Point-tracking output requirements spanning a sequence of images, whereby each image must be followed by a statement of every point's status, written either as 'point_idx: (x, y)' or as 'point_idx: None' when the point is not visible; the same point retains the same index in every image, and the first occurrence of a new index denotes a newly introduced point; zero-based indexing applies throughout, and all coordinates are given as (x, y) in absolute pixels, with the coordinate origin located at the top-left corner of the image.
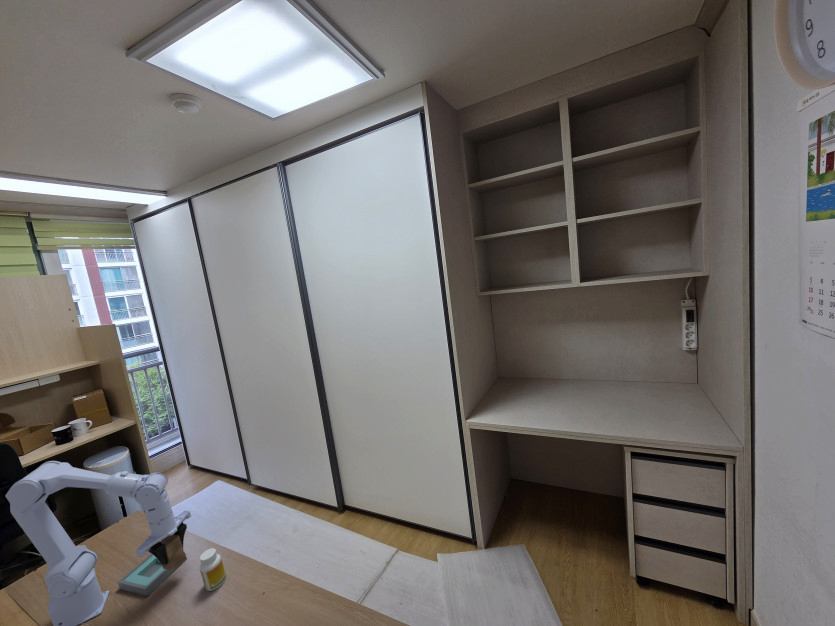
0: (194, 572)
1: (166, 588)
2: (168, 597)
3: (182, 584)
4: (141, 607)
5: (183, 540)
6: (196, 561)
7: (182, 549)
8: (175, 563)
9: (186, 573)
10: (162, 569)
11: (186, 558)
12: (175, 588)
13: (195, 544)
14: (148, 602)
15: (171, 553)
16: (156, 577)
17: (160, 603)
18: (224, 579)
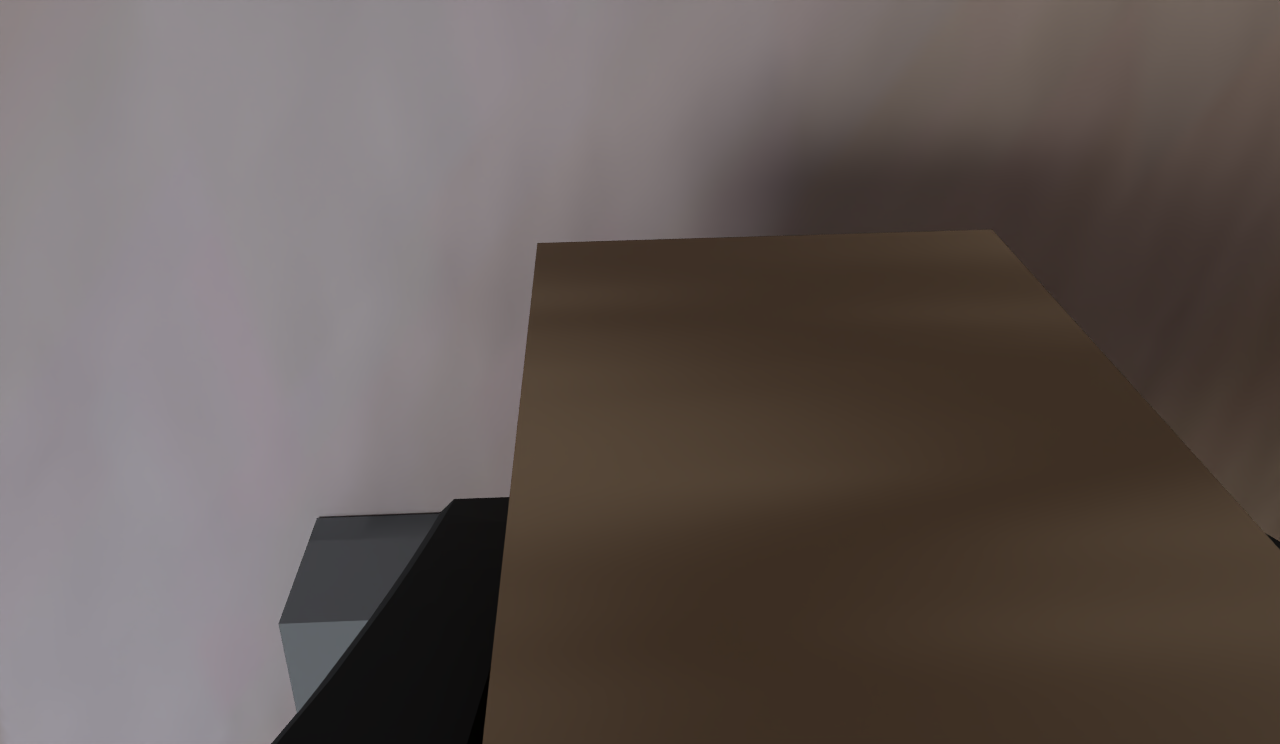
0: (500, 23)
1: None
2: (1095, 44)
3: (799, 21)
4: (1277, 394)
5: (293, 726)
6: (282, 262)
7: (543, 438)
8: (896, 294)
9: (566, 203)
10: None
11: (318, 531)
12: (899, 96)
13: (26, 664)
14: (1190, 363)
15: (1114, 581)
16: None
17: (1219, 90)
18: None
